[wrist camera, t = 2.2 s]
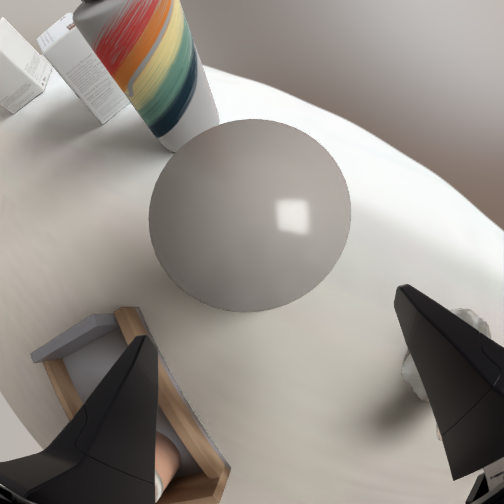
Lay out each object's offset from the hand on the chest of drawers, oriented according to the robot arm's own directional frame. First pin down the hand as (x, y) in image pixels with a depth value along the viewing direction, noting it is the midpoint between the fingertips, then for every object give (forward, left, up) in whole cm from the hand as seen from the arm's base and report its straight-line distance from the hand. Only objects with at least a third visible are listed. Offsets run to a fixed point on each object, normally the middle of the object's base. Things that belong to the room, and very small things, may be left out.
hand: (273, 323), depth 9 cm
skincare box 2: (+27, +5, -11) cm, 30 cm away
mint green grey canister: (+3, -1, -10) cm, 11 cm away
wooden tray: (-2, +14, -10) cm, 18 cm away
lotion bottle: (+17, -1, -11) cm, 20 cm away
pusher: (+5, +14, -9) cm, 18 cm away
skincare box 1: (+45, +18, -11) cm, 50 cm away
